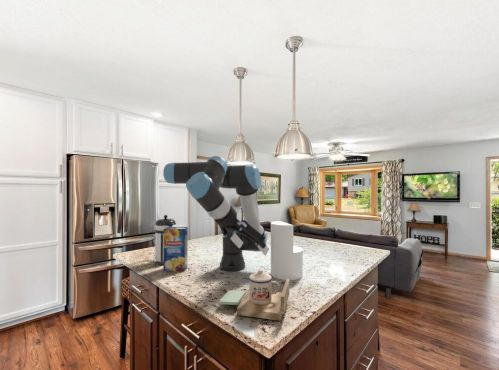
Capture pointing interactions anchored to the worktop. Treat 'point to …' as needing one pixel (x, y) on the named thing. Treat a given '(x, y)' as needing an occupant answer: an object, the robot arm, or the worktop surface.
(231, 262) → the robot arm
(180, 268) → the juice carton
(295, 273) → the cylinder
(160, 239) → the coffee press
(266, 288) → the teacup with lid
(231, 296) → the panel
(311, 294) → the worktop surface
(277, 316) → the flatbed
